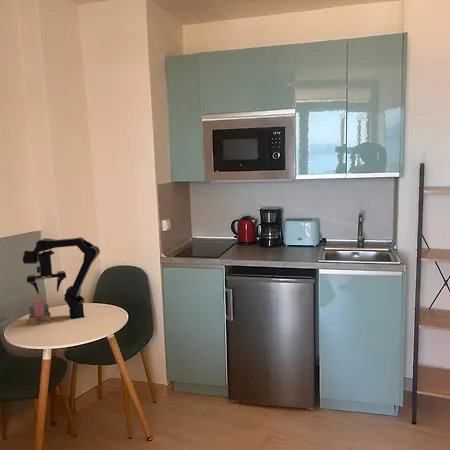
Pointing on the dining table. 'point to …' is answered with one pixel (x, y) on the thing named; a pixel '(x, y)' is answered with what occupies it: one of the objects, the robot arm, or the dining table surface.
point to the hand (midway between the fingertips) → (48, 292)
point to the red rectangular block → (39, 308)
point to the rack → (39, 320)
